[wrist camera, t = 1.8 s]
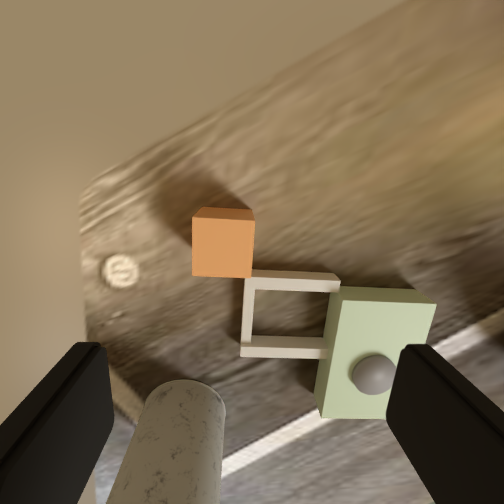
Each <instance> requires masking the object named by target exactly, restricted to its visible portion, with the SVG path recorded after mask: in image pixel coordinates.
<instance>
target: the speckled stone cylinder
mask: <svg viewBox="0 0 504 504" xmlns="http://www.w3.org/2000/svg"><path fill="white" fill-rule="evenodd" d="M225 415H226V410H225V404H224V402H223V400H222V398H221V396H220V395H219V394H218V392H216V391H215V390H214V389H213V388H212V387H210V386H208V385H206V384H204V383H202V382H198V381H195V380H188V379H181V380H173V381H169V382H166V383H164V384H162V385H160V386H158V387H157V388H156V389H154V390H153V391H152V392H151V393H150V394H149V396H148V397H147V399H146V402H145V404H144V409H143V411H142V414H141V416H140V419H139V421H138V424H137V426H136V429H135V432H134V434H133V437H132V439H131V442H130V444H129V447H128V449H127V452H126V454H125V457H124V459H123V462H122V464H121V467H120V469H119V472H118V474H117V477H116V479H115V482H114V484H113V487H112V490H111V492H110V495H109V497H108V500H107V502H106V504H220V488H221V471H222V454H223V437H224V421H225Z"/></svg>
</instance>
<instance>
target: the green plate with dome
mask: <svg viewBox="0 0 504 504" xmlns="http://www.w3.org/2000/svg"><path fill="white" fill-rule="evenodd" d="M340 282H341V281H340V280H339V278H338V277H337V276H336V275H335V274H334V273H322V272H301V271H279V270H257V269H252V273H251V278H244V293H243V309H242V325H241V341H240V357H270V358H308V359H319V364H318V370H317V376H316V382H315V388H314V397H315V400H316V403H317V407H318V410H319V413H320V416H321V418H349V419H386V409H387V405H388V401H389V397H390V393H391V389H392V385H393V380H394V376H395V372H396V368H397V364H398V360H399V356H400V352H401V350H402V349H404V348H405V346H406V345H407V344H425V342H426V339H427V335H428V332H429V329H430V325H431V322H432V319H433V315H434V312H435V309H436V305H437V304H436V303H435V302H433V301H432V300H430V299H429V298H427V297H426V296H425V295H423V294H422V293H420V292H419V291H417V290H416V289H397V288H374V287H351V286H340ZM255 289H265V290H290V291H314V292H330V298H329V304H328V310H327V316H326V322H325V328H324V334H323V337H291V336H259V335H251V333H252V320H253V307H254V293H255Z"/></svg>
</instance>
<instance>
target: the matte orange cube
mask: <svg viewBox="0 0 504 504" xmlns="http://www.w3.org/2000/svg"><path fill="white" fill-rule="evenodd" d="M254 230H255V219H254V215H253V212H252V210H250V209H233V208H216V207H201V208H200V209H199V210H198V212H197V213H196V214H195V215H194V216H193V217H192V276H208V277H231V278H251V273H252V259H253V244H254Z"/></svg>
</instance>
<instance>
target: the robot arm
mask: <svg viewBox="0 0 504 504" xmlns="http://www.w3.org/2000/svg"><path fill="white" fill-rule="evenodd" d="M386 421H387V423H388V426H389V427H390V429H391V431H392V432H393V434H394V436H395V437H396V439H397V441H398V442H399V444H400V445H401V447H402V449H403V450H404V452H405V454H406V455H407V457H408V459H409V460H410V462H411V464H412V465H413V467H414V469H415V470H416V472H417V474H418V475H419V477H420V479H421V480H422V482H423V483H424V485H425V487H426V488H427V490H428V492H429V493H430V495H431V497H432V498H433V500H434V502H435V503H436V504H504V412H503V411H502V410H501V409H500V408H499V407H498V406H497V405H495V404H494V403H493V402H492V401H491V400H490V399H489V398H488V397H486V396H485V395H484V394H483V393H482V392H481V391H480V390H479V389H478V388H476V387H475V386H474V385H473V384H472V383H471V382H470V381H469V380H467V379H466V378H465V377H464V376H463V375H462V374H461V373H460V372H459V371H457V370H456V369H455V368H454V367H453V366H452V365H451V364H450V363H449V362H447V361H446V360H445V359H444V358H443V357H442V356H441V355H440V354H438V353H437V352H436V351H435V350H434V349H433V348H432V347H431V346H429V345H427V344H407V345H406V346H405V348H404V349H402V350H401V352H400V356H399V360H398V364H397V368H396V372H395V376H394V380H393V385H392V389H391V393H390V397H389V401H388V405H387V409H386ZM113 423H114V410H113V402H112V393H111V385H110V377H109V368H108V360H107V351H106V348H104V347H101V345H100V343H98V342H77V343H75V344H74V345H73V346H72V347H71V349H70V350H69V351H68V352H67V353H66V354H65V355H64V356H63V357H62V358H61V359H60V361H59V362H58V363H57V364H56V365H55V366H54V367H53V368H52V369H51V370H50V371H49V373H48V374H47V375H46V376H45V377H44V378H43V379H42V380H41V381H40V382H39V384H38V385H37V386H36V387H35V388H34V389H33V390H32V391H31V392H30V393H29V395H28V396H27V397H26V398H25V399H24V400H23V401H22V402H21V403H20V404H19V405H18V406H17V408H16V409H15V410H14V411H13V412H12V413H11V414H10V415H9V416H8V417H7V418H6V420H5V421H4V422H3V423H2V424H1V425H0V504H77V503H78V501H79V499H80V496H81V494H82V492H83V490H84V488H85V486H86V484H87V482H88V479H89V477H90V475H91V473H92V471H93V469H94V467H95V465H96V462H97V460H98V458H99V456H100V454H101V452H102V450H103V448H104V445H105V443H106V441H107V439H108V437H109V435H110V433H111V430H112V427H113Z"/></svg>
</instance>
